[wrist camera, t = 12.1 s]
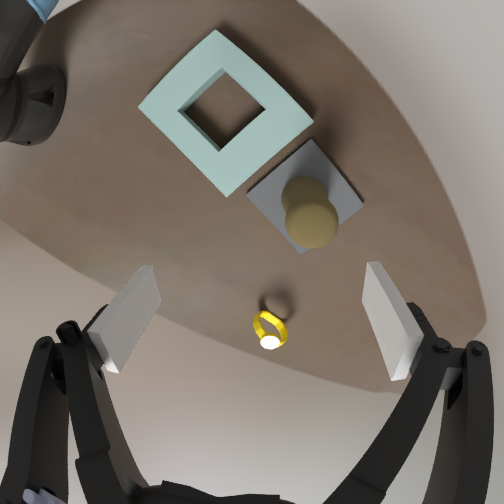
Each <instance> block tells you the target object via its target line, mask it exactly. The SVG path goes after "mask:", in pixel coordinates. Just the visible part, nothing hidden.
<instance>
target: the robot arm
mask: <svg viewBox="0 0 504 504" xmlns="http://www.w3.org/2000/svg"><path fill="white" fill-rule="evenodd" d="M58 1H59V0H0V142H4V141H7V142H11V143H15V144H20V145H24V146H32V145H37V144H40V143H42V142H44V141H45V140H47V139H48V138H49V137H50V135H51V134H52V133H53V131H54V130H55V128H56V126H57V124H58V122H59V120H60V117H61V114H62V111H63V107H64V102H65V91H66V90H65V81H64V77H63V74H62V72H61V71H60V70H59V69H58V68H57V67H56V66H53V65H44V64H43V65H37V66H35V67H31V68H28V69H25V70H22V71H19V72H17V70H18V68H19V66H20V64H21V62H22V60H23V59H24V57H25V55H26V53H27V51H28V49H29V48H30V46H31V44H32V42H33V41H34V39H35V37H36V36H37V34H38V33H39V31H40V30H41V28H42V26H43V25H45V23H46V22H47V18H48V17H49V15H50V14H51V12H52V10H53V9H54V8H55V6H56V5H57V3H58ZM362 303H363V305H364V308H365V310H366V313H367V315H368V318H369V320H370V323H371V325H372V328H373V331H374V333H375V336H376V339H377V341H378V344H379V347H380V350H381V352H382V355H383V358H384V361H385V364H386V367H387V370H388V373H389V376H390V379H391V381H394V380H400V379H405V378H406V376H407V374H408V372H409V370H410V373H411V375H412V377H411V379H410V381H409V383H408V385H407V387H406V389H405V391H404V392H403V394H402V396H401V398H400V400H399V402H398V403H397V405H396V407H395V408H394V410H393V412H392V413H391V415H390V417H389V418H388V420H387V422H386V423H385V425H384V426H383V428H382V430H381V431H380V433H379V434H378V436H377V437H376V438H375V440H374V441H373V443H372V444H371V446H370V447H369V449H368V450H367V451H366V453H365V454H364V455H363V457H362V458H361V459H360V461H359V462H358V463H357V465H356V466H355V467H354V469H353V470H352V471H351V472H350V473H349V475H348V476H347V477H346V478H345V479H344V480H343V482H342V483H341V484H340V485H339V486H338V487H337V489H336V490H335V491H334V492H333V493H332V494H331V495H330V496H329V497H328V498H327V500H326V501H325V502H324V503H323V504H380V503H381V502H382V500H383V499H384V497H385V495H386V491H387V489H388V487H389V486H390V484H391V483H392V481H393V480H394V478H395V477H396V475H397V474H398V472H399V470H400V469H401V467H402V465H403V464H404V462H405V461H406V459H407V457H408V455H409V453H410V452H411V450H412V448H413V446H414V444H415V443H416V440H417V439H418V437H419V435H420V433H421V431H422V429H423V427H424V424H425V422H426V420H427V418H428V416H429V414H430V411H431V409H432V407H433V404H434V402H435V400H436V397H437V395H438V392H439V390H441V389H442V390H445V396H444V406H443V415H442V422H441V429H440V436H439V441H438V446H437V451H436V456H435V461H434V465H433V469H432V473H431V477H430V480H429V484H428V487H427V491H426V494H425V497H424V500H423V503H422V504H484V503H485V499H486V494H487V489H488V483H489V477H490V470H491V461H492V451H493V435H494V404H493V403H494V401H493V385H492V374H491V364H490V357H489V351H488V348H487V347H486V346H485V344H483V343H482V342H479V341H470V342H469V343H468V344H467V346H466V348H465V349H463V348H453V347H452V346H451V344H450V343H449V342H448V341H447V340H445V339H443V338H439V337H438V336H437V335H436V333H435V331H434V330H433V328H432V326H431V325H430V323H429V321H427V318H426V316H425V315H424V313H423V312H422V310H421V309H420V307H418V306H417V305H416V304H415V303H413V302H411V303H405V301H404V300H403V298H402V296H401V295H400V293H399V291H398V290H397V288H396V287H395V285H394V283H393V282H392V280H391V279H390V277H389V276H388V274H387V272H386V271H385V269H384V268H383V266H382V265H381V263H380V262H379V261H375V262H367V269H366V276H365V283H364V289H363V295H362ZM160 304H161V298H160V294H159V291H158V287H157V283H156V279H155V275H154V271H153V267H152V266H141V267H140V268H139V270H138V271H137V272H136V273H135V274H134V275H133V276H132V278H131V279H130V280H129V281H128V282H127V283H126V284H125V286H124V287H123V288H122V289H121V290H120V291H119V293H118V294H117V295H116V296H115V297H114V299H113V300H112V301H111V302H110V304H106V305H105V306H103V307H102V308H101V309H100V310H99V311H98V312H97V313H96V315H95V316H94V317H93V318H92V320H91V321H90V322H89V323H88V324H87V325H86V327H85V328H84V329H83V330H82V332H81V331H80V328H79V327H78V324H77V322H75V321H71V320H70V321H66V322H64V323H62V324H61V325H59V326H58V328H57V329H56V333H57V335H58V337H59V339H60V341H61V343H55V342H54V341H53V339H52V337H50V336H45V337H42V338H40V339H39V340H38V341H37V342H36V343H35V345H34V348H33V351H32V354H31V357H30V360H29V363H28V366H27V369H26V372H25V376H24V379H23V383H22V387H21V390H20V394H19V398H18V402H17V407H16V411H15V416H14V421H13V427H12V433H11V440H10V447H9V455H8V465H7V468H6V471H5V474H4V476H3V479H2V482H1V485H0V504H68V494H69V493H68V461H67V459H68V458H67V456H68V453H67V452H68V424H69V411H70V416H71V421H72V426H73V431H74V436H75V440H76V444H77V448H78V452H79V456H80V457H79V459H76V460H75V465H76V470H77V473H78V476H79V480H80V483H81V486H82V489H83V492H84V495H85V498H86V500H87V503H88V504H295V503H293V502H289V501H286V500H282V499H280V495H265V494H244V495H236V496H227V497H216V496H213V495H210V494H207V493H205V492H202V491H200V490H197V489H195V488H192V487H190V486H186V485H182V484H177V483H173V482H169V481H164V480H163V481H162V484H161V485H155V486H149V484H148V483H147V482H146V480H145V479H144V478H143V477H142V475H141V473H140V471H139V469H138V467H137V465H136V463H135V461H134V458H133V456H132V454H131V452H130V449H129V447H128V445H127V442H126V440H125V438H124V435H123V432H122V430H121V427H120V424H119V421H118V419H117V416H116V413H115V410H114V407H113V404H112V401H111V398H110V395H109V391H108V388H107V384H106V381H105V377H104V374H103V371H102V370H101V367H102V365H103V364H104V365H105V366H106V368H107V370H108V371H111V372H115V373H120V372H121V370H122V368H123V366H124V365H125V363H126V361H127V359H128V357H129V356H130V354H131V352H132V351H133V349H134V347H135V345H136V344H137V342H138V340H139V339H140V337H141V335H142V333H143V332H144V330H145V328H146V327H147V325H148V323H149V322H150V320H151V318H152V317H153V315H154V313H155V312H156V310H157V309H158V307H159V305H160ZM279 500H280V501H279Z"/></svg>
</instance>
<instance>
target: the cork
mask: <svg viewBox="0 0 504 504" xmlns="http://www.w3.org/2000/svg"><path fill="white" fill-rule="evenodd" d="M281 203H282V206H283V209H284V211H285V213H286V216H285V227H286V230H287V233H288V235H289V236H290V237H291V239H292V240H293V241H294V242H295V243H297V244H298V245H300V246H302V247H305V248H319V247H322V246H324V245H326V244H327V243H329V242H330V241H331V240H332V239H333V238H334V236H335V235H336V233H337V229H338V226H339V216H338V214H337V211H336V208H335V207H334V206H333V205H332V203H331V202H330V201H329V200H328V195H327V192H326V189H325V187H324V186H323V185H322V183H321V182H320V181H318V180H316V179H315V178H313V177H309V176H299V177H296V178H294V179H292V180H291V181H289V182H288V183H287V184H286V186H285V187H284V189H283V191H282V195H281Z"/></svg>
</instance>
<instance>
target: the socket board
mask: <svg viewBox="0 0 504 504" xmlns="http://www.w3.org/2000/svg"><path fill="white" fill-rule="evenodd" d="M225 72H227V73H228V74H229V75H230V76H231V77H232V78H233V79H234V80H235V81H236V82H238V83H239V84H240V85H241V86H242V87H243V88H244V89H245V90H246V91H247V92H248V93H249V94H250V95H251V96H252V97H253V98H254V99H255V100H256V101H257V102H258V103H259V104H260V105H261V106H262V107H263V108H264V109H265V111H263V112H262V113H261V114H260V115H259V116H258V117H256V118H255V119H254V120H253V121H252V122H251V123H250V124H249V125H247V126H246V127H245V128H244V129H243V130H242V131H241V132H240V133H239V134H238V135H236V136H235V137H234V138H233V139H232V140H231V141H230V142H229V143H228V144H227V145H226V146H225V147H224V148H223V149H221V148H220V147H219V146H218V145H217V144H216V143H215V142H214V141H213V140H212V139H211V138H210V137H209V136H208V135H207V134H206V133H205V132H204V131H203V130H202V129H201V128H200V127H199V126H198V125H197V124H196V123H195V122H194V121H193V120H192V119H191V118H190V117H188V116H187V115H186V114H185V113H184V111H185V110H186V109H187V108H188V107H189V106H190V105H191V104H192V103H193V102H194V101H195V100H196V99H197V98H198V97H199V96H200V95H201V94H202V93H203V92H204V91H205V90H207V89H208V88H209V87H210V86H211V85H212V84H213V83H214V82H215V81H216V80H217V79H218V78H219V77H221V76H222V75H223V74H224V73H225ZM138 108H139V109H140V110H141V111H142V112H143V113H144V114H145V115H146V116H147V117H148V118H149V119H150V120H151V121H152V122H153V123H154V124H155V125H156V126H157V127H158V128H159V129H160V130H161V131H162V132H163V133H164V134H165V135H166V136H167V137H168V138H169V139H170V140H171V141H172V142H173V143H174V144H175V145H176V146H177V147H178V148H179V149H180V150H181V151H182V152H183V153H184V154H185V155H186V156H187V157H188V158H189V159H190V160H191V161H192V162H193V163H194V164H195V165H196V166H197V167H198V168H199V169H200V170H201V171H202V172H203V173H204V175H205V176H206V177H207V178H208V179H209V180H210V181H211V182H212V183H213V184H214V185H215V186H216V187H217V188H218V189H219V190H220V191H221V192H222V193H223V194H224V195H225V196H226V197H228V196H229V195H230V194H231V193H232V192H233V191H234V190H235V189H236V188H238V187H239V186H240V185H241V184H242V183H243V182H244V181H245V180H246V179H247V178H249V177H250V176H251V175H252V174H253V173H254V172H255V171H256V170H258V169H259V168H260V167H261V166H262V165H263V164H264V163H266V162H267V161H268V160H269V159H270V158H271V157H272V156H274V155H275V154H276V153H277V152H278V151H279V150H281V149H282V148H283V147H284V146H285V145H286V144H288V143H289V142H290V141H291V140H292V139H294V138H295V137H296V136H297V135H298V134H300V133H301V132H302V131H303V130H304V129H306V128H307V127H308V126H309V125H311V124H312V123H313V122H314V121H313V120H312V119H311V118H310V116H309V115H308V114H307V113H306V112H305V111H304V110H303V109H302V108H301V107H300V106H299V105H298V104H297V102H296V101H295V100H294V99H293V98H292V97H291V96H290V95H289V94H288V93H287V92H286V91H285V90H284V89H283V88H282V87H281V86H280V85H279V84H278V83H277V82H276V81H275V80H274V79H273V78H272V77H270V76H269V75H268V74H267V73H266V72H265V71H264V70H263V69H262V68H261V67H260V66H259V65H258V64H256V63H255V62H254V61H253V60H252V59H251V58H250V57H249V56H247V55H246V54H245V53H244V52H243V51H242V50H240V49H239V48H238V47H237V46H236V45H234V44H233V43H232V42H231V41H229V40H228V39H227V38H226V37H224V36H223V35H222V34H221V33H219V32H218V31H217V30H214V31H213V32H212V33H211V34H209V35H208V36H207V37H206V38H205V39H204V40H202V41H201V42H200V43H199V44H198V45H197V46H196V47H195V48H193V49H192V50H191V51H190V52H189V53H188V54H187V55H186V56H185V57H184V58H183V59H182V60H181V61H180V62H179V63H178V64H177V65H176V66H175V67H174V68H173V69H172V70H171V71H170V72H169V73H168V74H167V75H166V76H165V77H164V78H163V79H162V80H161V81H160V82H159V84H158V85H157V86H156V87H155V88H154V89H153V90H152V91H151V92H150V94H149V95H148V96H147V97H146V98H145V99H144V101H143V102H142V103H141V104H140V105H139V107H138Z"/></svg>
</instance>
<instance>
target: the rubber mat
mask: <svg viewBox="0 0 504 504" xmlns="http://www.w3.org/2000/svg"><path fill="white" fill-rule="evenodd" d="M299 176H309V177H313V178H315V179H316V180H318V181H320V182H321V183H322V185H323V186H324V187H325V189H326V192H327V195H328V200H329V201H330V202H331V203H332V205H333V206H334V207H335V208H336V211H337V214H338V216H339V225H340V224H342V223H343V222H344V221H345V220H347V219H348V218H349V217H350V216H352V215H353V214H354V213H355V212H357V211H358V210H359V209H360V208H362V207H363V206H364V204H363V203H362V202H361V200H360V199H359V198H358V196H357V195H356V194H355V192H354V191H353V190H352V188H351V187H350V186H349V184H348V183H347V182H346V180H345V179H344V178H343V176H342V175H341V174H340V173H339V171H338V170H337V169H336V168H335V166H334V165H333V164H332V163H331V161H330V160H329V159H328V158H327V157H326V155H325V154H324V153H323V152H322V151H321V149H320V148H319V147H318V146H317V145H316V144H315V142H314V141H313V140H312V139H310V140H309V141H308V142H307V143H305V144H304V145H303V146H302V147H301V148H299V149H298V150H297V151H296V152H295V153H293V154H292V155H291V156H290V157H289V158H287V159H286V160H285V161H284V162H283V163H282V164H280V165H279V166H278V167H277V168H276V169H275V170H273V171H272V172H271V173H270V174H269V175H268V176H266V177H265V178H264V179H263V180H262V181H261V182H260V183H258V184H257V185H256V186H255V187H254V188H253V189H252V190H250V191H249V192H248V193H247V194H246V196H247V197H248V198H249V199H250V200H251V201H252V202H253V203H254V204H255V205H256V206H257V207H258V209H259V210H260V211H261V212H262V213H263V214H264V215H265V216H266V217H267V218H268V219H269V220H270V221H271V223H272V224H273V225H274V226H275V227H276V228H277V229H278V230H279V231H280V232H281V234H282V235H283V236H284V237H285V238H286V239H287V240H288V241H289V242H290V243H291V245H292V246H293V247H294V248H295V249H296V250H297V251H298V252H299V253H300V255H301V254H303V253H304V252H305V251H307V250H308V249H309V248H305V247H302V246H300V245H298V244H297V243H295V242H294V241H293V240H292V239H291V237H290V236H289V235H288V233H287V230H286V227H285V216H286V213H285V211H284V209H283V206H282V203H281V195H282V191H283V189H284V187H285V186H286V184H287V183H288V182H289V181H291V180H292V179H294V178H296V177H299Z"/></svg>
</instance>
